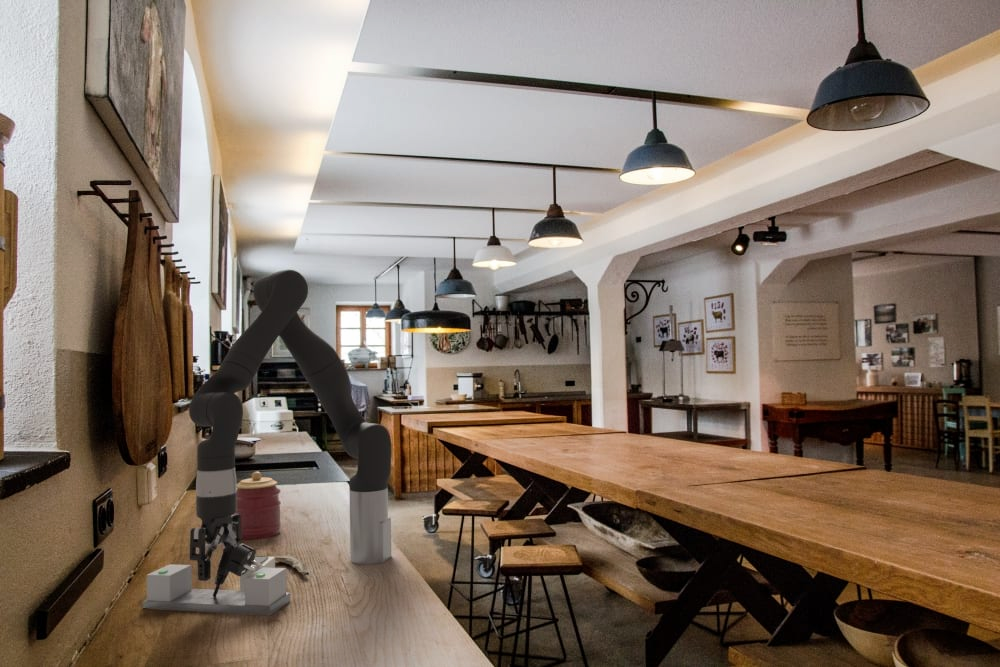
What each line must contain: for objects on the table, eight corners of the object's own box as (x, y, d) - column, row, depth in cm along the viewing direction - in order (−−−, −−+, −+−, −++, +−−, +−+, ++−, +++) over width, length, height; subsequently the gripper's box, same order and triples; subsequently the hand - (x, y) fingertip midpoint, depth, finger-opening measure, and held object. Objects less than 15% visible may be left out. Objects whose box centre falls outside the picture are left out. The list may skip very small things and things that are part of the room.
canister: (222, 539, 192) (222, 475, 193) (250, 527, 205) (249, 467, 205) (264, 541, 189) (263, 475, 190) (289, 529, 202) (289, 468, 202)
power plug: (219, 589, 141) (239, 535, 141) (250, 605, 140) (270, 551, 139) (202, 599, 136) (222, 543, 135) (234, 616, 134) (255, 559, 134)
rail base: (290, 602, 140) (289, 592, 140) (270, 617, 132) (270, 606, 132) (169, 597, 145) (168, 587, 145) (142, 611, 137) (142, 601, 137)
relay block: (275, 584, 152) (275, 554, 152) (263, 595, 145) (263, 564, 145) (252, 584, 152) (252, 555, 152) (240, 595, 145) (239, 564, 145)
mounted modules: (286, 593, 140) (286, 566, 140) (269, 605, 133) (268, 577, 133) (169, 588, 144) (169, 562, 144) (146, 600, 137) (146, 572, 137)
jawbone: (280, 559, 172) (281, 550, 172) (337, 573, 161) (337, 563, 161) (249, 563, 165) (250, 554, 165) (306, 578, 153) (306, 568, 154)
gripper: (213, 499, 131) (213, 585, 131) (252, 485, 145) (253, 563, 145) (177, 498, 133) (177, 584, 132) (219, 484, 147) (220, 562, 146)
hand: (217, 573), depth 139 cm, fingers open, 8 cm apart
